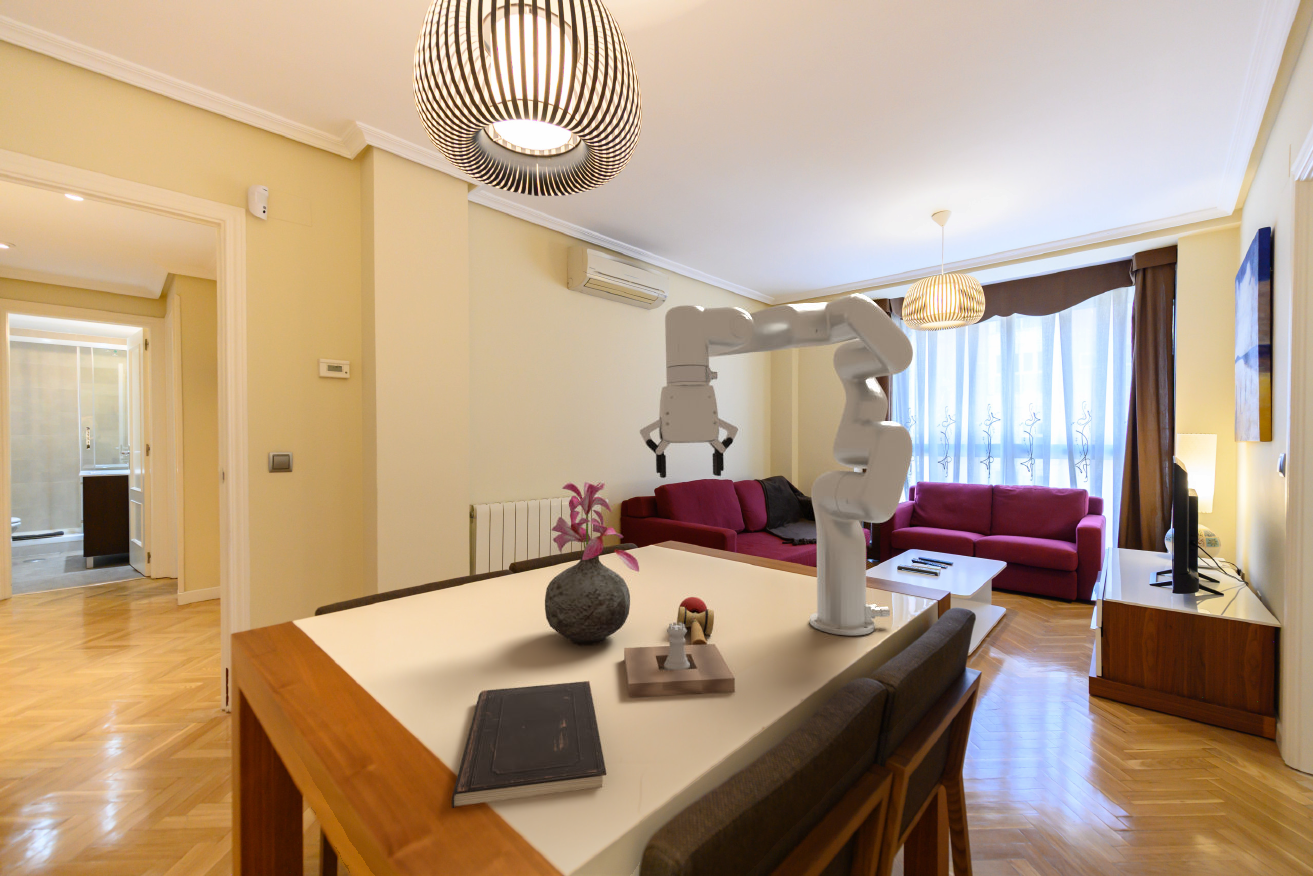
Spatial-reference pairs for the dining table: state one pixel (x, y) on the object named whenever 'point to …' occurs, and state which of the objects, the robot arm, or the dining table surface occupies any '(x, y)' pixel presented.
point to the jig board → (676, 672)
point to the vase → (587, 578)
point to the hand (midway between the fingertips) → (690, 476)
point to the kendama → (696, 619)
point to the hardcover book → (530, 744)
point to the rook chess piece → (676, 648)
